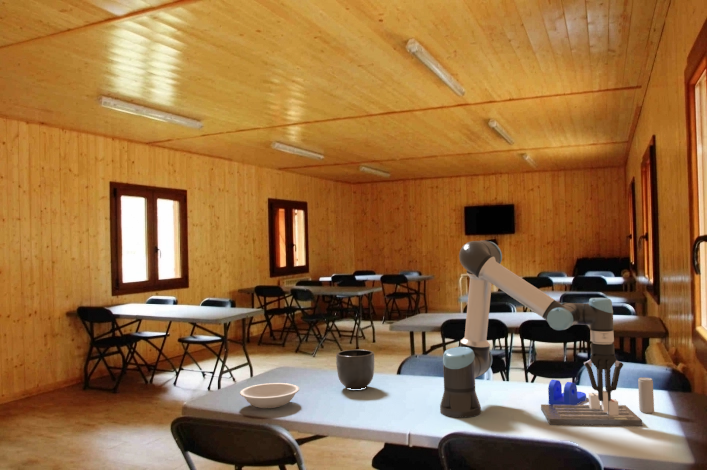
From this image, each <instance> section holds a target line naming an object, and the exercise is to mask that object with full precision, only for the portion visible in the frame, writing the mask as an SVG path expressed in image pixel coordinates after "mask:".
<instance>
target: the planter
mask: <svg viewBox="0 0 707 470" xmlns="http://www.w3.org/2000/svg"><path fill="white" fill-rule="evenodd" d="M335 357H336V358H335V360H336V361H335V363H336V372H337V377H338V379H339V381H340V383H341V384H342V385H343V386H344V387H345V389H346V388H351V389H361V388H365V387H368V386H369V385H370V383H372V380H373V378H374V374H375V352H374V351H372V350H369V349H346V350H345V349H344V350H342V351H341V350H340V351H337V352H336V354H335Z"/></svg>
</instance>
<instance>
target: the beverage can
mask: <svg viewBox="0 0 707 470" xmlns="http://www.w3.org/2000/svg"><path fill="white" fill-rule="evenodd" d="M637 382H638V383H637V384H638V387H637V388H638V403H639V404H638V405H639V406H638V407H639V411H640V412H641V413H643V414H653V413H654V412H655V404H654V403H655V401H654V400H655V398H654V381H653V378H651V377H638V381H637Z"/></svg>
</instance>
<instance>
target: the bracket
mask: <svg viewBox="0 0 707 470" xmlns="http://www.w3.org/2000/svg"><path fill="white" fill-rule="evenodd" d="M547 391H548V405H580V404H581V403H582V402H584V401H587V394H586V393H585V392H583V391H578V387H577V384H576V383H575V382H571V381H566V382H565V385H564V387H563V389H562V383H561V381H560V380H559V379H551V380H550V381H549V383H548V389H547ZM562 391H563V392H562Z"/></svg>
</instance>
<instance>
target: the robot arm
mask: <svg viewBox="0 0 707 470" xmlns="http://www.w3.org/2000/svg"><path fill="white" fill-rule="evenodd" d="M458 259H459V263H460V265H461V266H462V267H463V269H465V270H466V275H467V276H468V278H469V287H468V296H467V306H466V316H465V317H466V318H465V327H464V328H465V329H464V330H465V331H464V337H463V338H462V339H460V342H459V346H455V347H450V348H447V349H446V350H444V352H443V355H442V357H443V358H442V367H443V368H442V370H443V394H442V397H441V402H440V404H439V407H440V408H439V411H440V413H441V414H443V416H448V417H454V418H471V417H477V416H479V415H480V414H481V413H482V408H481V403H480V400H479V398H478V395H477V392H476V378H478V377H479V376H483V375H484V374H485V373H487V372H488V371H489V370H490V368H491V366H492V364H493V354H492V353H491V351H490V348H491V347H490V346H491V345H490V342H489V341H488V340H487V337H488V329H489V328H488V327H489V319H490V318H489V317H490V306H491V295H492V294H491V293H492V285H493V286H495V287H496V288H498V289H499V290H501V291H502V292H504V293H506V294H507V295H508V296H510V297H511V298H513V299H514V300H516V301H517V302H519V304H521V305H523V306H525V307H526V308H528V309H529V310H531V311H532V312H533V313H535V314H537V315H538V316H539V317H540V318H542V319H544V320H545V321H546V322H547V323H548V325H549V327H550V328H552V329H553V330H555V331H565V330H567V329H569V328H571V327H572V326H575V325H585V326H587V325H588V326H589V329H590V332H589V333H590V342H591V343H590V357H589V360H587V361H583V365H584V367H585V368H586V371H587V374H588V378H589V381H590V383H591V384H590V385H591V387H592V389H593V390H594V391H597V394H598V399H599V400H600V404H601V405H602V410H603V411H608V401H611V399H612V392H613V391H617V389H618V388H617V387H618V382H619V379H620V374H621V369H622V368H623V367H624V363H623V362H621V361H619V360H618V359H617V358H616V355H615V344H614V342H615V337H614V310H613V301H612V300H611V299H610V298H608V297H607V298H606V297H590V298H589V300H588V302H587V303H579V302H577V303H576V302H575V303H574V302H559V301H557V300H556V299H555V298H553V297H552V296H550V295H548V294H546V293H545V292H544V291H542V290H540V289H539V288H538V287H536V286H534V285H533V284H531V283H530V282H528V281H526V280H525V279H524V278H522V277H520V276H519V275H518V274H516V273H514V272H513V271H512V270H510V269H509V268H507V267H506V266H503V264H501V263H502V260H503V253H502V250H501V248H500V247H499V246H498V244H496V243H495V242H493V241H489V240H472V241H468V242H466V243H465V244H463V245H462V247H461V248H460V250H459V253H458ZM592 364H593V365H592ZM592 366H594V367H595V369H596V379H595V376H594V371H593V368H592ZM614 366H615V367H614ZM612 367H614V370H613V374H612V379H611V368H612ZM603 373H604V377H603ZM603 378H604V379H603ZM603 381H604V382H603ZM604 386H605V387H604Z"/></svg>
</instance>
